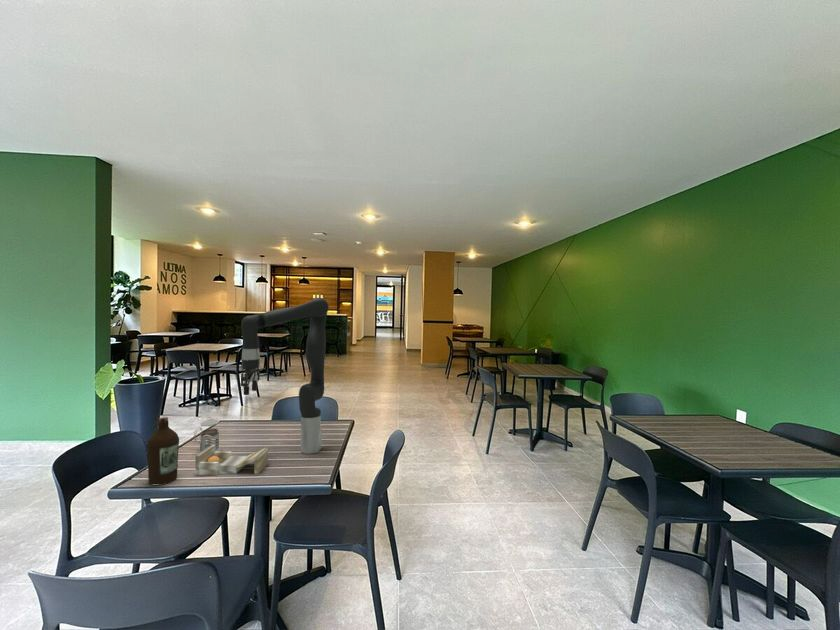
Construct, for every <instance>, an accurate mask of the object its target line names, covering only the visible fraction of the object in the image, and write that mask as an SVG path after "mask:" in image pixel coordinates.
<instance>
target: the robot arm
mask: <svg viewBox="0 0 840 630" xmlns="http://www.w3.org/2000/svg"><path fill="white" fill-rule="evenodd" d="M328 312H329V303H328V301H327V300H326V299H325V298H322V297H316V298H313V299H312V300H310V301H307V302H305V303H302V304H299V305H294V306H290V307H283V308H277V309H273V310H269V311H265V312H262V313H257V314H253V315H246V316H244V317H243V318H242V319H241V325H240V327H241V328H240V329H241V335H242V351H241V369H243V370H244V372H241V373H240V375H241V376H240V386H241V387H243V396H244V395H245V396H249V395H250V384H251V391H252V392H257V390H258V382H259V381H260V379H261V378H260V364H261V363H260V362H261V361H260V352H261V351H260V338H259V335H258V329H263V328H266V327H273V326H276V325H277V326H278V325H281V324H285V323H289V322H291V321H295V320H300V319H306V318H309V321H310V325H309V328H308V329H309V330H308V333H307V339H306V346H305V359H306V361H307V364H308V366H309V369H310V382H309V383H305V384H303V385H301V386H300V388H299V391H298V401H299V402H298V404H299V406H298V407H299V411H300V412H299V413H300V452H301V453H302V454H306V455H309V454H310V455H311V454H315V453H318V454H319V452H320V451H321V450H322V434H323V433H322V431H323V430H322V428H321V420H322V419H321V415H322V414H321V413H322V412H321V411H322V410H321V409H320V408H319V407H316V401H319V400H321V399H322V398H323V397H324V394H325V360H326V359H325V358H326V347H327V346H326V345H327V340H326V339H327V337H326V336H327V335H326V321H327V316H328Z"/></svg>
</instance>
